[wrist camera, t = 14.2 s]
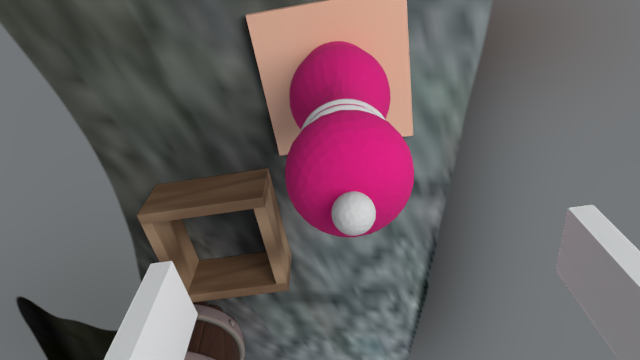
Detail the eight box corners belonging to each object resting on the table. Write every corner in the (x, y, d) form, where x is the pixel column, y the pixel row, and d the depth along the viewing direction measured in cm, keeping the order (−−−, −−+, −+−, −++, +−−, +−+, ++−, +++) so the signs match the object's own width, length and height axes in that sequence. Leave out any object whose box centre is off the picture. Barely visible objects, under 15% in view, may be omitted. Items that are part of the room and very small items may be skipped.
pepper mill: (341, 13, 30) (369, 96, 13) (400, 83, 33) (488, 231, 15) (274, 77, 33) (220, 221, 15) (333, 138, 35) (345, 319, 18)
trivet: (247, 13, 31) (245, 15, 30) (403, -15, 30) (405, -14, 29) (280, 151, 37) (279, 155, 36) (411, 131, 36) (413, 135, 35)
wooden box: (156, 184, 39) (136, 215, 34) (268, 168, 38) (262, 197, 34) (193, 268, 44) (180, 304, 40) (291, 255, 44) (288, 290, 39)
